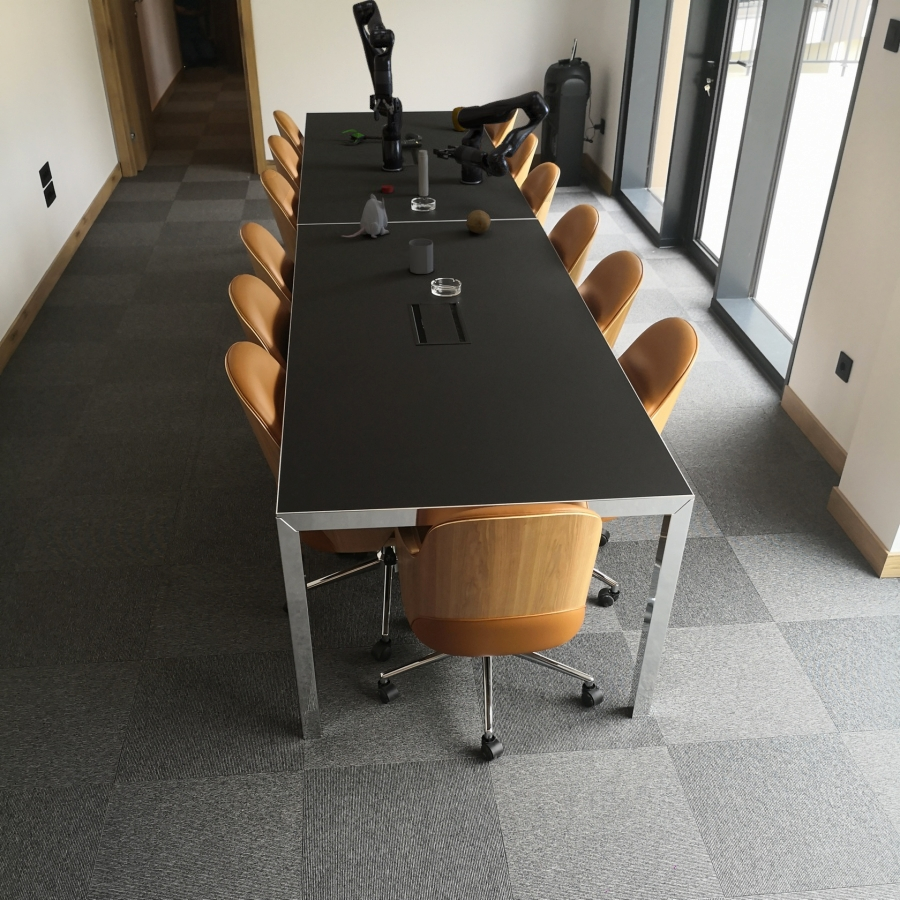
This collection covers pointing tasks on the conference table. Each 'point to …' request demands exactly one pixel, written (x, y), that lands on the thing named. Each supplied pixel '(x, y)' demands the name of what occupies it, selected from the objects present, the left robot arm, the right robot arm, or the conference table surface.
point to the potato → (478, 221)
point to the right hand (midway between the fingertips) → (441, 149)
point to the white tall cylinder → (423, 172)
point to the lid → (387, 189)
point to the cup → (421, 256)
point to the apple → (454, 119)
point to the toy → (373, 218)
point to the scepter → (359, 137)
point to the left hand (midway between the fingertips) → (385, 121)
